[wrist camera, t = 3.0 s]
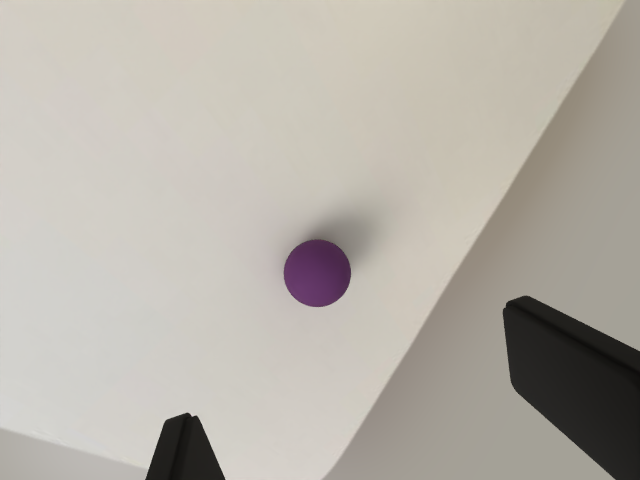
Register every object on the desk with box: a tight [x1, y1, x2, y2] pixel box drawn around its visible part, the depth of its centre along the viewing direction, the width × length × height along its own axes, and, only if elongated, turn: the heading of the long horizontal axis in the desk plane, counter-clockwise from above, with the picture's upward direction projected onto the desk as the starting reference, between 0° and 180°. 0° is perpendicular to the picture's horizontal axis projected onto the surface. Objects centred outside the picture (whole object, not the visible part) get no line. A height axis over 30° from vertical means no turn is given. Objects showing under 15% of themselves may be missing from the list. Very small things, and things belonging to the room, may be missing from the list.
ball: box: [284, 240, 351, 307], centre depth 21 cm, size 4×4×4 cm
